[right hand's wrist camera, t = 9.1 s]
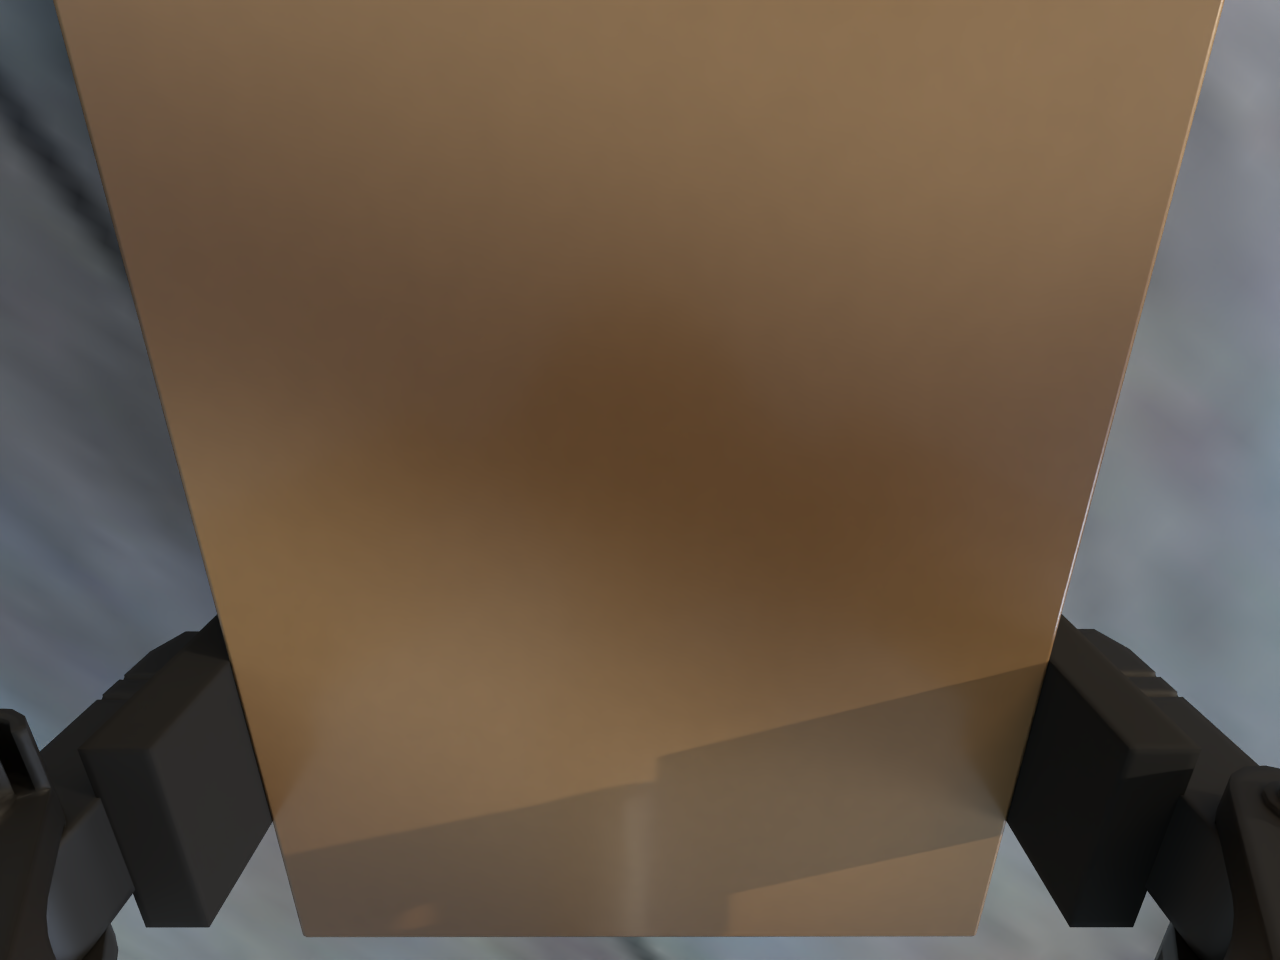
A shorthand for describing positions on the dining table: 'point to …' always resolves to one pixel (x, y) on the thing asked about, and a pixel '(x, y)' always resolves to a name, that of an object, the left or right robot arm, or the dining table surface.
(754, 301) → the cabinet
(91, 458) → the dining table surface
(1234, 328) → the dining table surface
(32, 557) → the dining table surface
